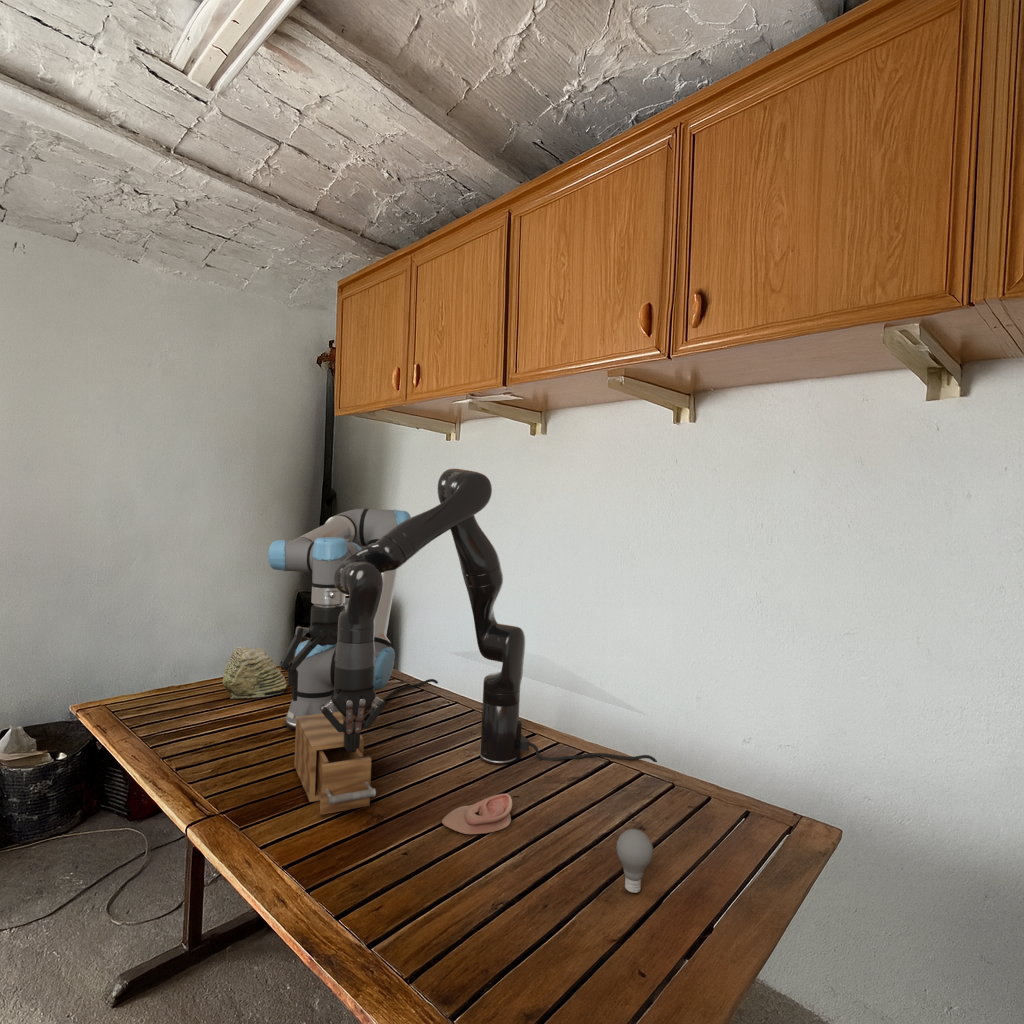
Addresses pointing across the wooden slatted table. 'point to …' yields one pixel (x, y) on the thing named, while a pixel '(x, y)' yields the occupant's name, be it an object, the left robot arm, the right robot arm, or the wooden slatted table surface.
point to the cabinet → (315, 747)
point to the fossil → (252, 674)
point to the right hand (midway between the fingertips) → (351, 750)
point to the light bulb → (634, 857)
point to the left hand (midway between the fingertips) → (325, 696)
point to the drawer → (343, 780)
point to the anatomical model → (481, 816)
